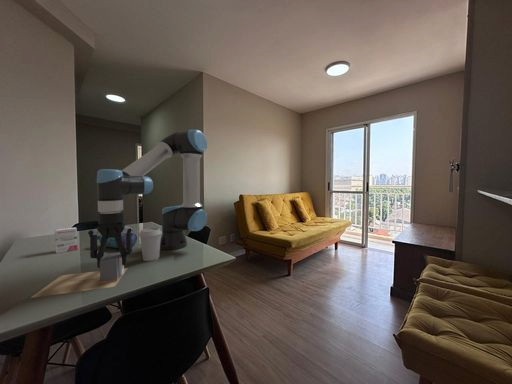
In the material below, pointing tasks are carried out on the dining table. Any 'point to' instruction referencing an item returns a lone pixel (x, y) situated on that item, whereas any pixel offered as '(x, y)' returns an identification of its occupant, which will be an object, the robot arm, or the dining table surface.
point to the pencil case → (113, 243)
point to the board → (75, 284)
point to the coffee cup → (150, 243)
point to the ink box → (66, 239)
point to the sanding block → (109, 268)
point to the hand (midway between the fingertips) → (112, 274)
